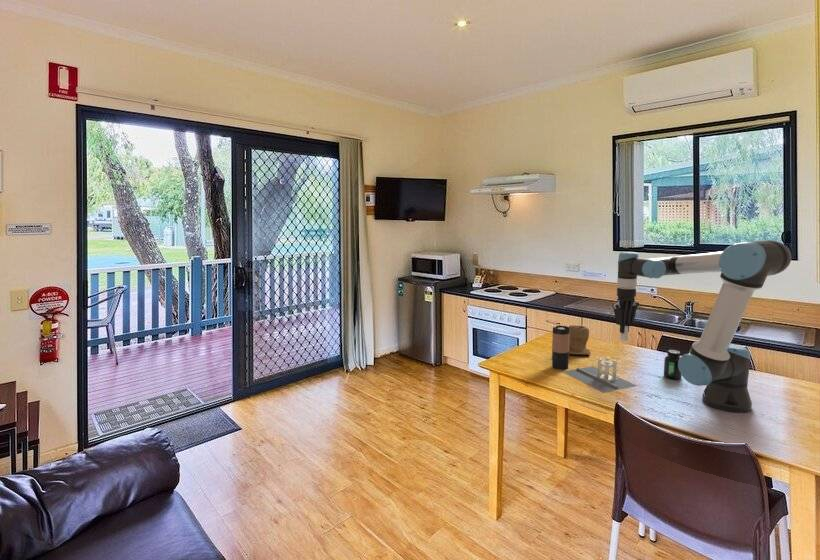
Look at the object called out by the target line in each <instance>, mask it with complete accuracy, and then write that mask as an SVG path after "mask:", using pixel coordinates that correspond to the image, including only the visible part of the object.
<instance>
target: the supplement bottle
mask: <svg viewBox="0 0 820 560" xmlns="http://www.w3.org/2000/svg"><path fill="white" fill-rule="evenodd" d="M680 357H681V351H679V350H677V349H668V350H667V353H666V356H665V357H664V360H663V361H664V362H663V377H664V378H665V379H668V380H672V381H680V380H681V379H682V377H683V376H682V375H681V372H680V371H679V368H678V361H679V359H680Z"/></svg>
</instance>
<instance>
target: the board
mask: <svg viewBox="0 0 820 560" xmlns="http://www.w3.org/2000/svg"><path fill="white" fill-rule="evenodd" d="M561 372H562V373H564V374H566V375H568V376H569V377H571V378H574V379H575V380H578V381H579V382H581V383H583V384H585V385H587V386H589V387H591V388H593V389H595V390H597V391H600V392H601V393H604V394H605V393H608V392H610V393H611V392H614V391H618V390H624V389H628V388H629V389H630V388H634V387H635V388H636V387H638V385H636V384H634V383H633V382H630V381H627V380H625V379H624V378H621V377H619V376H617V375H616V378H617V380H616V381H611V382H608V381H606V380H604V379H602V378H600V377H598V376H597V373H598V367H596V366H594V365H591V366H586V367H581V368H580V367H576V368H575V369H569V370H568V369H567V370H561ZM604 374H605V370H603V369H602V371H601V375H604ZM609 375H611V376H612V373H610V372H609Z"/></svg>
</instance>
